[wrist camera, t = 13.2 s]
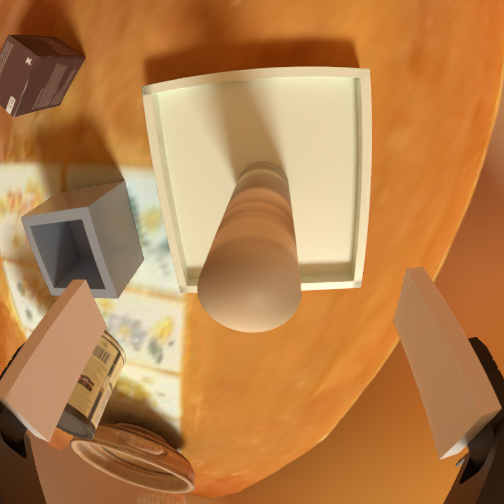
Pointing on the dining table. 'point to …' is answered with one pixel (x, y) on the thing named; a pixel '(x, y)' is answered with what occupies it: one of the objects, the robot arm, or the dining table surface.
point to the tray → (266, 150)
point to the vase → (159, 497)
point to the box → (35, 73)
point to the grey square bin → (86, 239)
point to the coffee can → (93, 389)
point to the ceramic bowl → (136, 457)
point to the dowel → (253, 255)
